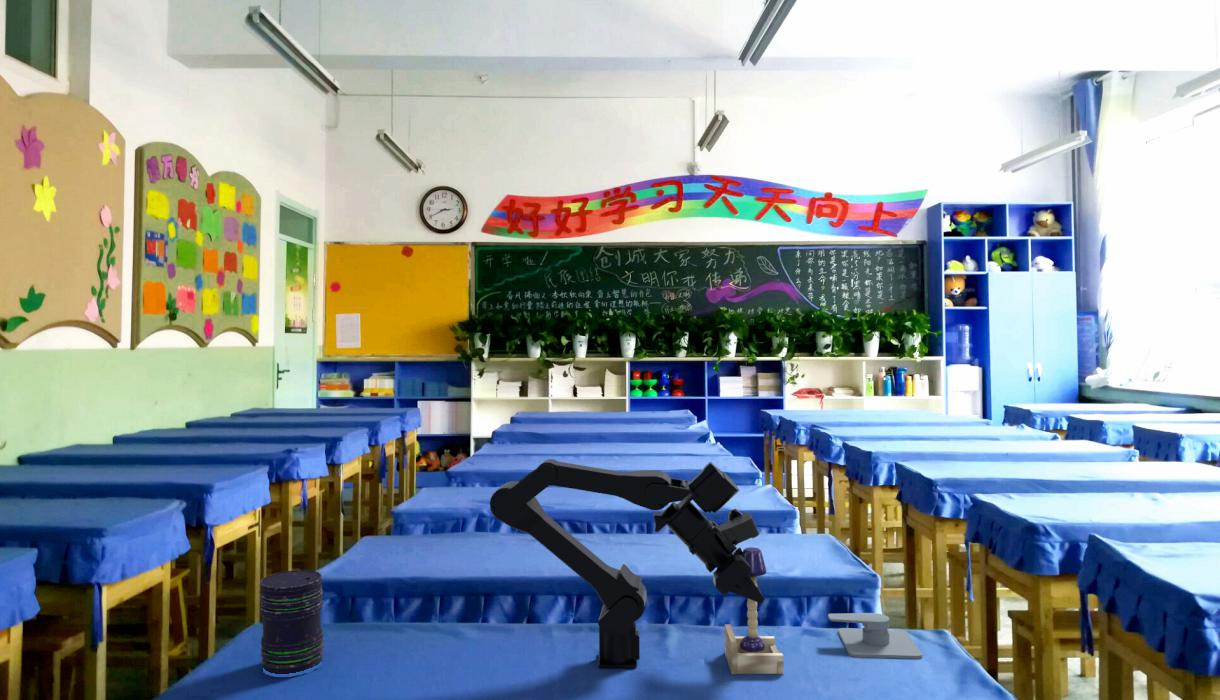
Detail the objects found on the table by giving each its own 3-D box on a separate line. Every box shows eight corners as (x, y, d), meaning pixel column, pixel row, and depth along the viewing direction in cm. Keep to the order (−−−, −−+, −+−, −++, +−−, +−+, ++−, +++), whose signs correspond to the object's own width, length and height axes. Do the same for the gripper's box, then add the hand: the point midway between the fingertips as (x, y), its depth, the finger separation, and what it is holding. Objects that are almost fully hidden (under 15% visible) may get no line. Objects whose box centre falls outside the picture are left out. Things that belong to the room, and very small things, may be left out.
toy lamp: (732, 646, 141) (733, 549, 141) (747, 639, 145) (748, 543, 144) (756, 654, 138) (757, 554, 137) (771, 646, 141) (772, 549, 141)
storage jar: (250, 678, 137) (248, 587, 136) (276, 654, 146) (274, 569, 146) (310, 678, 136) (309, 587, 136) (332, 654, 146) (331, 570, 146)
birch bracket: (731, 674, 137) (731, 644, 137) (724, 652, 146) (724, 624, 146) (783, 674, 137) (783, 644, 137) (773, 652, 146) (773, 624, 146)
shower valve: (822, 603, 156) (905, 605, 155) (822, 632, 157) (904, 634, 155) (834, 627, 144) (924, 629, 143) (834, 658, 144) (924, 661, 143)
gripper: (738, 510, 131) (807, 580, 132) (723, 487, 150) (784, 549, 150) (687, 559, 132) (756, 629, 132) (679, 530, 150) (739, 591, 151)
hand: (760, 596), depth 141 cm, fingers closed on toy lamp, 4 cm apart
